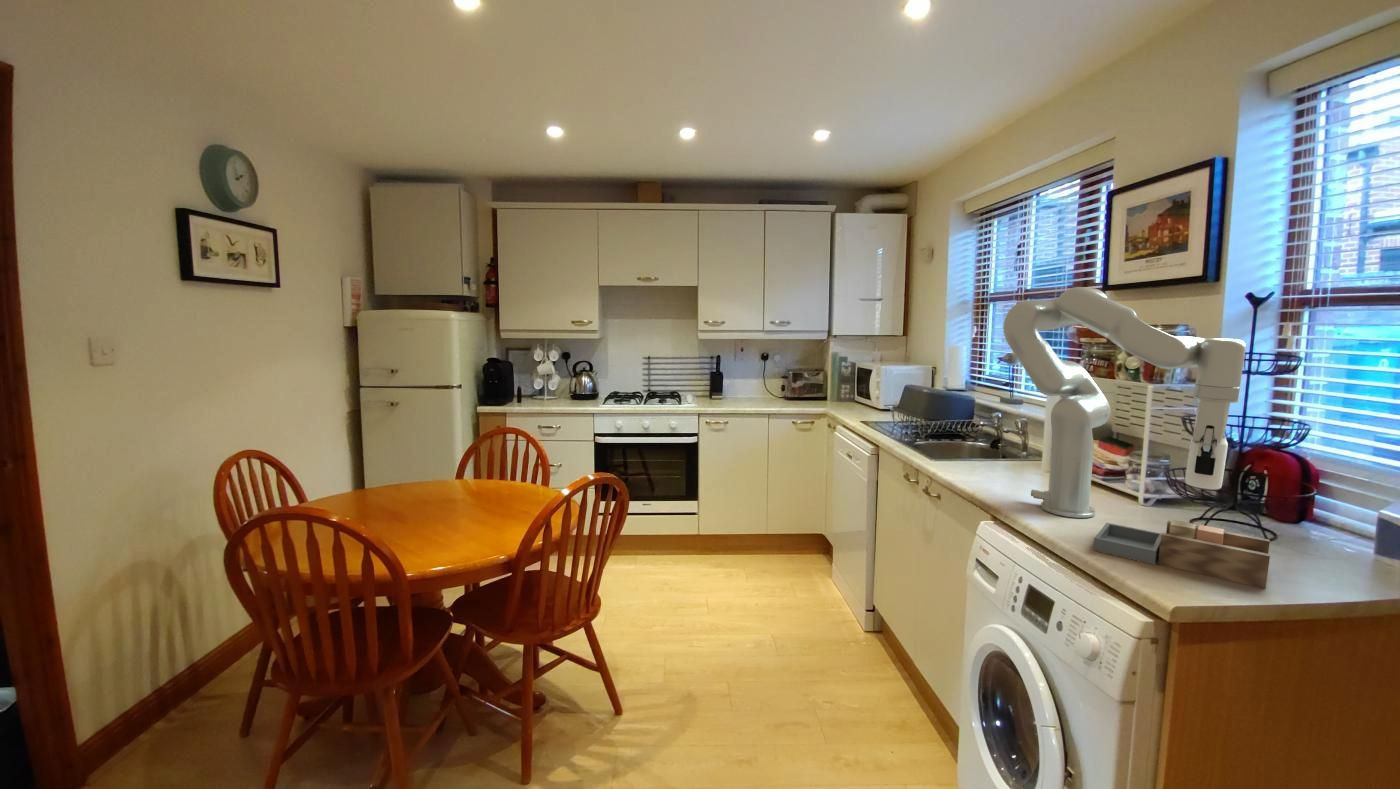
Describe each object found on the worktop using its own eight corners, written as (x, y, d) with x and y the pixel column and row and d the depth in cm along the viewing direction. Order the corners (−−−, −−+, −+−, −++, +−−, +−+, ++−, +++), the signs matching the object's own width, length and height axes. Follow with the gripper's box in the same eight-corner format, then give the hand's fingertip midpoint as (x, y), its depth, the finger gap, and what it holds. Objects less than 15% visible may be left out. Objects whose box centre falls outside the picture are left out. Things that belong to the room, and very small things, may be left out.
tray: (1093, 550, 131) (1094, 537, 131) (1105, 534, 141) (1106, 522, 141) (1154, 564, 124) (1156, 551, 124) (1163, 546, 134) (1164, 534, 134)
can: (1178, 483, 136) (1185, 433, 134) (1194, 480, 139) (1201, 431, 137) (1211, 491, 130) (1219, 439, 128) (1227, 488, 133) (1235, 437, 131)
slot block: (1158, 564, 124) (1161, 534, 123) (1165, 548, 133) (1168, 520, 132) (1265, 588, 113) (1269, 556, 112) (1265, 569, 121) (1269, 539, 121)
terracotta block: (1195, 547, 123) (1197, 529, 122) (1197, 542, 126) (1199, 524, 125) (1220, 552, 120) (1223, 534, 120) (1222, 547, 123) (1224, 529, 122)
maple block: (1168, 542, 126) (1170, 524, 125) (1170, 537, 129) (1172, 519, 128) (1192, 547, 123) (1194, 528, 123) (1194, 542, 126) (1196, 524, 126)
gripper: (1197, 388, 140) (1187, 461, 143) (1190, 395, 128) (1179, 475, 130) (1240, 392, 135) (1228, 467, 137) (1237, 399, 122) (1224, 482, 125)
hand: (1204, 470), depth 134 cm, fingers closed on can, 6 cm apart
